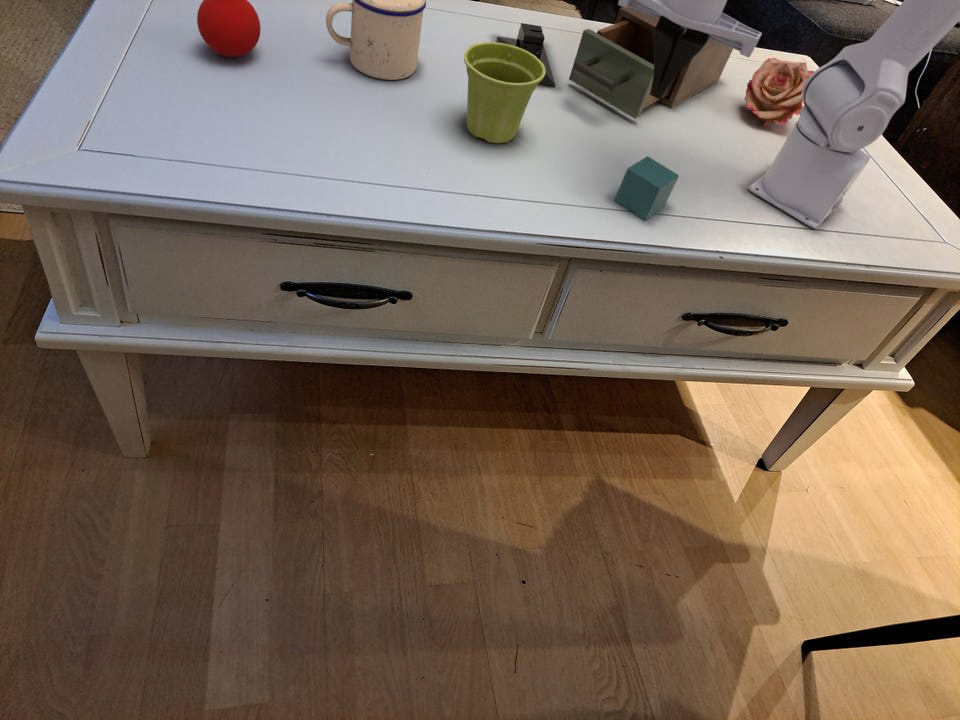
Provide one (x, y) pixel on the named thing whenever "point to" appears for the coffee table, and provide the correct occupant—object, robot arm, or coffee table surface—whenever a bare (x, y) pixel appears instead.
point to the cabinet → (697, 70)
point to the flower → (777, 90)
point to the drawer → (618, 66)
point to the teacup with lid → (382, 36)
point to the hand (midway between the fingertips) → (657, 93)
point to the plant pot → (499, 88)
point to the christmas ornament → (229, 26)
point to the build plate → (532, 48)
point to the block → (646, 187)
